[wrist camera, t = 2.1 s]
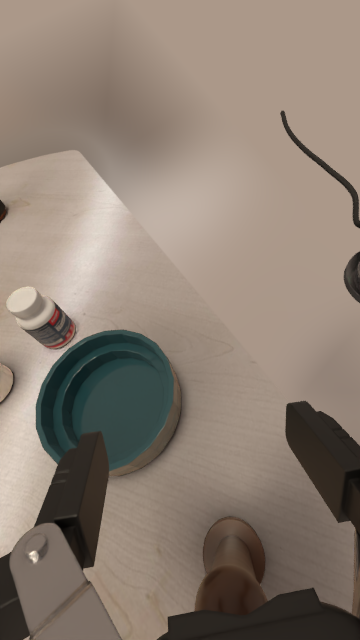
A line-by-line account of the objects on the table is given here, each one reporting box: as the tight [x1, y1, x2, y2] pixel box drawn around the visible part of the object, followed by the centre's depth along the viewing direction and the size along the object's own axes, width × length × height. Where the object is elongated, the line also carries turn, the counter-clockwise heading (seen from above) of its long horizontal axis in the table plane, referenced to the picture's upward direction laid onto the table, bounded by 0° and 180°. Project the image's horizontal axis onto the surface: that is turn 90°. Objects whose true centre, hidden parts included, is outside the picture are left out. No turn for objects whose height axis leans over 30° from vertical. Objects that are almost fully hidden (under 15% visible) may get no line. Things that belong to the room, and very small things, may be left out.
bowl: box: [36, 330, 181, 476], centre depth 32 cm, size 15×15×6 cm
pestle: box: [195, 517, 268, 615], centre depth 18 cm, size 5×5×17 cm
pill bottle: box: [6, 287, 75, 349], centre depth 38 cm, size 5×5×9 cm
